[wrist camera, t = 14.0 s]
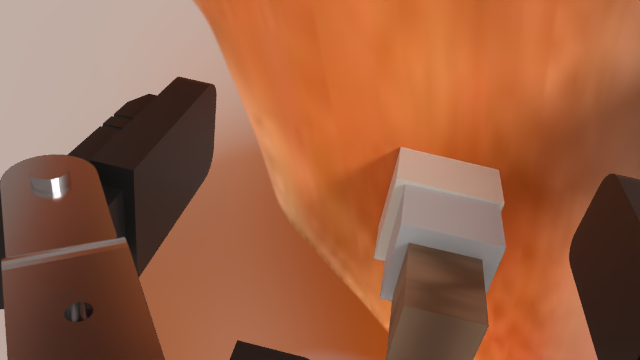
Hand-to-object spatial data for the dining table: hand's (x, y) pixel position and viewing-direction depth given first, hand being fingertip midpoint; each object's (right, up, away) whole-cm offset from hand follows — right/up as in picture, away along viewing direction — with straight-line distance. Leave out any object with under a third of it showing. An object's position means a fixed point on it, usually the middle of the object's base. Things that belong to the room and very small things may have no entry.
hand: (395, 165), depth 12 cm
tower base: (+8, -2, +36) cm, 37 cm away
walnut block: (+7, -7, +28) cm, 29 cm away
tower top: (+8, -4, +31) cm, 33 cm away
